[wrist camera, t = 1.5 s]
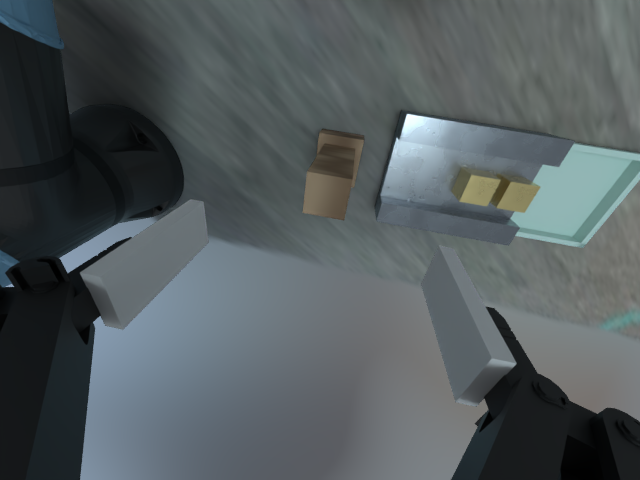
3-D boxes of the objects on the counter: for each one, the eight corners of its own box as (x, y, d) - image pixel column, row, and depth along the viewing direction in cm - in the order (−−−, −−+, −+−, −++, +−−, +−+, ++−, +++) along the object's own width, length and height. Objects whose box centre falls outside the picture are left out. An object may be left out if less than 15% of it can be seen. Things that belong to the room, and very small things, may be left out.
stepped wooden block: (317, 173, 34) (293, 221, 22) (322, 128, 31) (298, 156, 19) (354, 179, 33) (350, 232, 22) (363, 135, 30) (365, 168, 19)
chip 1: (451, 191, 30) (459, 201, 28) (461, 166, 29) (471, 175, 26) (476, 196, 30) (487, 206, 28) (488, 171, 29) (501, 179, 26)
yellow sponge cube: (485, 197, 30) (496, 208, 28) (497, 173, 29) (510, 181, 26) (510, 202, 30) (524, 213, 28) (524, 177, 29) (540, 186, 26)
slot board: (374, 207, 35) (376, 221, 31) (401, 110, 29) (407, 114, 25) (493, 228, 34) (508, 245, 31) (547, 133, 28) (575, 141, 24)
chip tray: (494, 225, 34) (501, 233, 32) (545, 137, 28) (557, 141, 26) (571, 239, 33) (582, 247, 32) (639, 152, 27) (658, 157, 26)
